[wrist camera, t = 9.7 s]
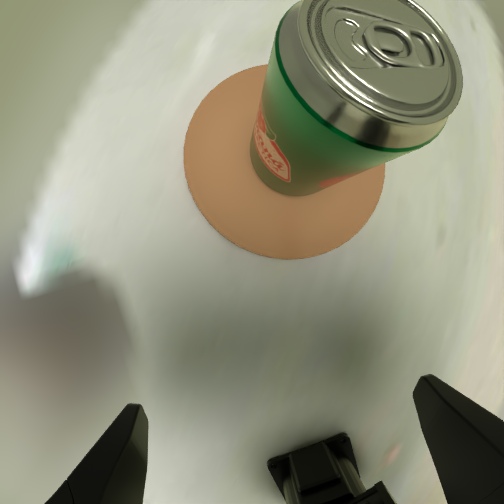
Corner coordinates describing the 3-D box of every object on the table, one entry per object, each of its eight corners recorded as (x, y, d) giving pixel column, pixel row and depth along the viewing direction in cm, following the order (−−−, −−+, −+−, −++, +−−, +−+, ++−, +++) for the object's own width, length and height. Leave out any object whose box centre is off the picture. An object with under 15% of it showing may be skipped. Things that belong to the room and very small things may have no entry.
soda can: (244, 116, 17) (266, -40, 5) (328, 112, 17) (437, -10, 5) (254, 201, 17) (303, 142, 5) (341, 194, 18) (493, 147, 6)
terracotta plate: (397, 220, 20) (409, 219, 18) (226, 285, 19) (225, 289, 18) (333, 60, 19) (339, 50, 17) (164, 106, 18) (159, 97, 17)
